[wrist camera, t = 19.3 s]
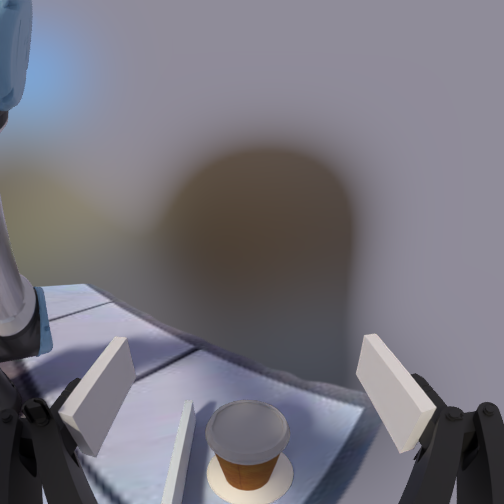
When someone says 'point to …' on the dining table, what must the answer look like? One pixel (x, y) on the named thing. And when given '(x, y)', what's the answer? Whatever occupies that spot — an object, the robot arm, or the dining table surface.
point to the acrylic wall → (180, 456)
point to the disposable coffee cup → (247, 441)
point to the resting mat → (254, 500)
